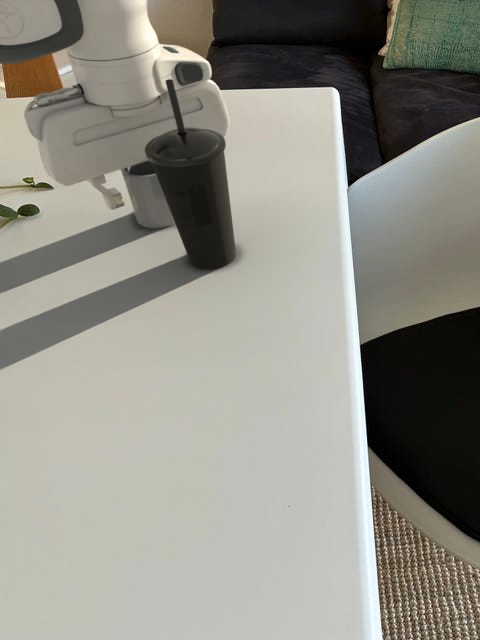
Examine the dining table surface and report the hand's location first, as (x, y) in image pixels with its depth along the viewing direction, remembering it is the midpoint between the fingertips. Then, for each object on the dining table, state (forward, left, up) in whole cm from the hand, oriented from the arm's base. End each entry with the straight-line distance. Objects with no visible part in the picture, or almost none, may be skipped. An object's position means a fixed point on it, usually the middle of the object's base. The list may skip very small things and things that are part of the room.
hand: (155, 192), depth 90 cm
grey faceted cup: (0, 0, -3) cm, 3 cm away
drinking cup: (+7, -10, -4) cm, 13 cm away
